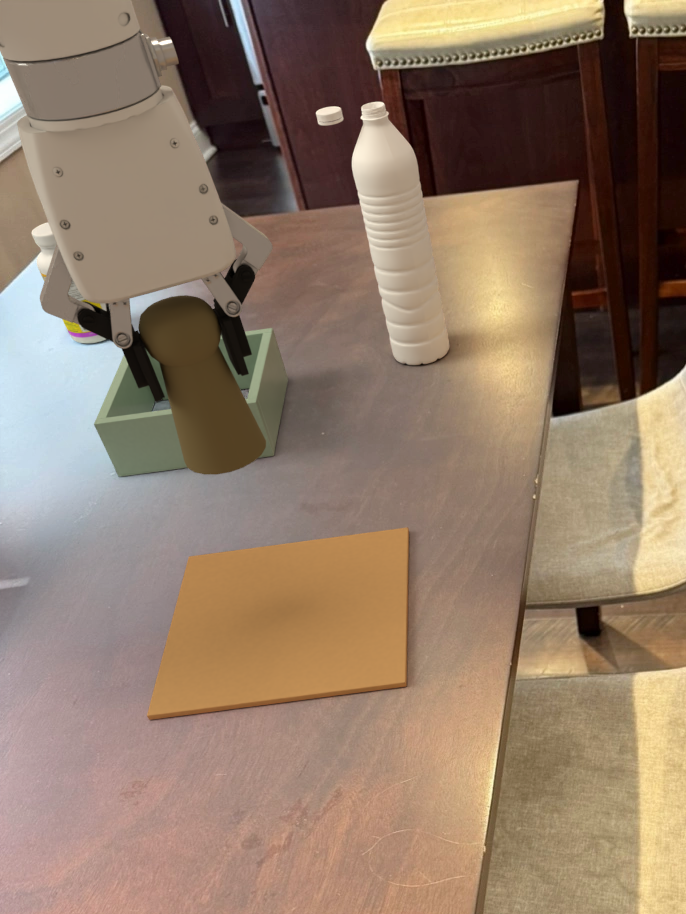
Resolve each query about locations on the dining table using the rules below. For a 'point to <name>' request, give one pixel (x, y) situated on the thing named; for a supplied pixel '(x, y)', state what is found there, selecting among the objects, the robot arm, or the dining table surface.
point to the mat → (287, 624)
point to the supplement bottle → (47, 245)
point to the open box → (154, 433)
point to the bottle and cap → (397, 235)
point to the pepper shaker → (200, 386)
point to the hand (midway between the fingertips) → (197, 377)
